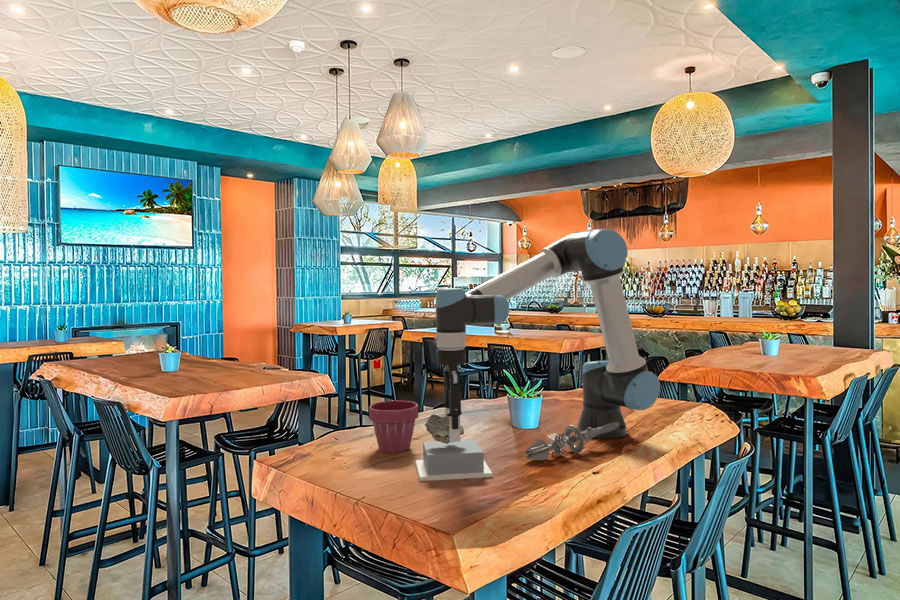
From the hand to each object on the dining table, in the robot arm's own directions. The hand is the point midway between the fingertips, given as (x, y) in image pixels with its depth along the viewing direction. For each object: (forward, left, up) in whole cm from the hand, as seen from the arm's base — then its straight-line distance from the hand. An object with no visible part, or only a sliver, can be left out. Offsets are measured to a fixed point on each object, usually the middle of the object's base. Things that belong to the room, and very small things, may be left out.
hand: (452, 437), depth 151 cm
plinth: (0, 0, -9) cm, 9 cm away
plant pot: (+14, -23, -9) cm, 28 cm away
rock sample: (+1, 0, -1) cm, 2 cm away
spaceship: (-36, -10, -9) cm, 38 cm away
